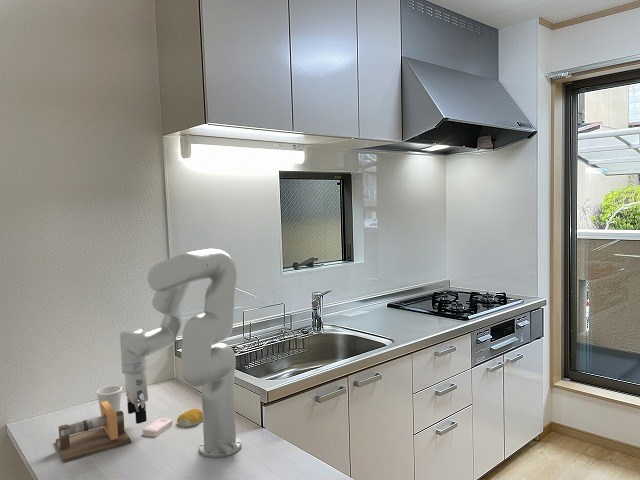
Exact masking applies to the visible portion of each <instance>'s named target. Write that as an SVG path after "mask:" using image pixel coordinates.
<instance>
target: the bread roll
mask: <svg viewBox="0 0 640 480" xmlns="http://www.w3.org/2000/svg"><path fill="white" fill-rule="evenodd" d="M200 423H203V414H202V410H201V409H197V408H192V409H188V410H187V411H184V412H183V413H181V414H180V415H178V416H177V419H176V425H178V426H179V427H183V428H191V427H194V426H197V425H199V424H200Z"/></svg>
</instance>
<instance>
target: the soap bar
mask: <svg viewBox="0 0 640 480" xmlns="http://www.w3.org/2000/svg"><path fill="white" fill-rule="evenodd" d="M171 427H173V420H172V419H169V418H163V417H162V418H158V419H156V420H155V421H153V422H152V423H150V424H148V425H147V426H146V427H144V428H142V435H143V436H145V437H153V438H155V437H156V438H157V437H158V436H160V435H161V434H163V433H164V432H165V431H167V430H169V429H170V428H171Z"/></svg>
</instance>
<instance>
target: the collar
mask: <svg viewBox="0 0 640 480" xmlns="http://www.w3.org/2000/svg"><path fill="white" fill-rule="evenodd" d="M102 416H107V425H106V426H102V427H103V428H104V430H105V431H106V433H107V434H108V436H109V437H110V439H111V440H114V439H117V438H118V428H117V413H116V412H115V410H114V409H113V408H112V407H111V405H110V404H109V403H108V401H103V402H101V411H100V417H102Z"/></svg>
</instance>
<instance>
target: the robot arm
mask: <svg viewBox="0 0 640 480" xmlns="http://www.w3.org/2000/svg"><path fill="white" fill-rule="evenodd" d="M237 273H238V272H237V267H236V263H235V262H234V260H233V258H232V257H231V256H230V255H229V254H228V253H227V252H225V251H223V250H222V249H217V248H207V249H206V248H205V249H201V250H200V249H199V250H193V251H188V252H184V253H180V254H177V255H175V256H173V257H170V258H167V259H165V260H163V261H160V262H157V263H155V264H153V266H151V268H150V269H149V271H148V274H147V284H148V285H149V288H150V289H151V290H152V291H153V292H154V291H155V293H154V296H153V298H152V300H151V304H152V306H153V308H154V309H155V310H156V311H157V312H159V313H161V314H163V317H162V320H161V323H160V325H159V326H158V327H154V328H152V329H148V330H143V329H142V328H140V327H130V328H125V329H123V330H122V331H121V332H119V333H120V334H119V343H120V345H119V346H120V360H121V372H122V374H123V375H124V385H125V386H124V387H125V396H126V400H127V414H128V415H131V414H134V415H135V424H137V425H138V424H142V423H145V422H147V407H146V402H148V401H149V393H148V392H149V391H148V383H147V378H146V377H147V375H146V373H145V372H146V370H147V357H148V356H151V355H153V354H156V353H158V352H160V351H163V350H166V349H169V348H170V347H171V346H172V345H173V344H174V343H175V341H176V339H177V337H178V335H179V333H180V330H181V328H182V315H181V312H180V308H181V305H182V303H183V300H184V298H185V296H186V293H187V292H188V289H189V286H190V284H191V283H193V282H197V281H202V280H206V279H207V280H208V279H209V280H210V281H209V284H208V285H207V288H206V291H205V294H204V295H205V296H204V307H203V308H204V309H203V312H202V313H199V314H197V315H194V316H192V317H190V318H189V319H188V320H187V321H186V323H185V325H184V327H183V330H182V339H181V340H182V341H181V354H180V357H181V359H180V361H181V362H180V368H181V369H180V370H181V374H182V377H183V380H184V381H185V382H186V384H187V385H189V386H190V387H194V388H195V387H196V388H198V387H201V411H202V414H203V421H202V431H203V441H201V442H200V444H199V446H198V452H199V454H201V455H202V456H203V457H206V458H212V459H214V458H216V459H217V458H223V457H224V458H225V457H228V456H231V455H233V454H235V453H237V452H238V451H239V450H240V449H241V448H242V440H241V438H239V437H238V436H237V432H236V431H237V429H236V428H237V427H236V412H235V411H236V409H235V383H234V382H235V371H236V363H237V359H236V353H235V351H234V349H233V348H232V347H231V346H230V345H229V344H227V343H223V341H225V340H226V339H228V338H229V337H230V336H231V335H232V332H233V329H234V328H233V327H234V316H235V315H234V314H235V296H236V295H235V292H236V286H237V278H238V276H237Z"/></svg>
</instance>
